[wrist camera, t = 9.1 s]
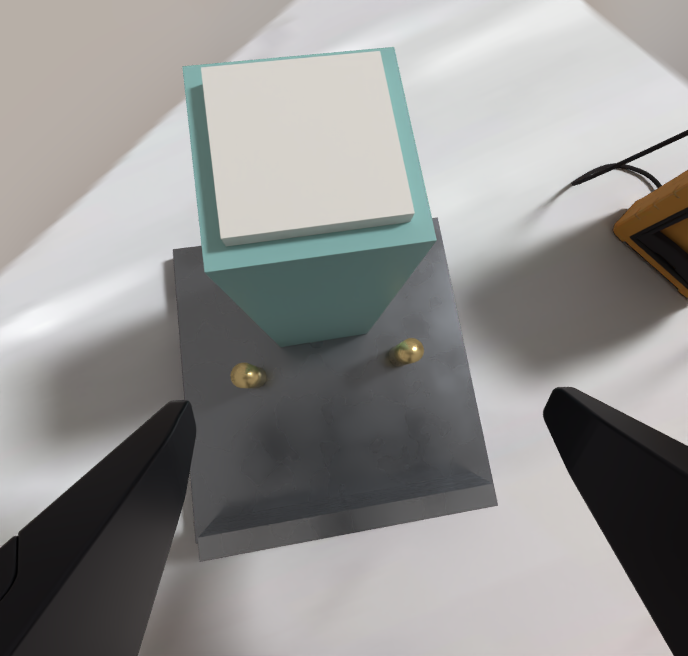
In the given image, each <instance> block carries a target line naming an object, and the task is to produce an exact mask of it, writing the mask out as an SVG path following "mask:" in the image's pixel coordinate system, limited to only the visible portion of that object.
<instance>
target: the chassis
mask: <svg viewBox="0 0 688 656" xmlns="http://www.w3.org/2000/svg"><path fill="white" fill-rule="evenodd" d="M432 221H433V225H434V230H435V234H436V239H437V241H436V242H435V243H434V245H433V246H432V247H431V249H430V250H429V251H428V253H427V254H426V255H425V257H424V258H423V259H422V261H421V262H420V263H419V265H418V266H417V267H416V269H415V270H414V271H413V273H412V274H411V275H410V277H409V278H408V279H407V281H406V282H405V283H404V285H403V286H402V287H401V289H400V290H399V291H398V293H397V294H396V295H395V297H394V298H393V300H392V301H391V302H390V304H389V305H388V306H387V308H386V309H385V310H384V312H383V313H382V314H381V316H380V317H379V318H378V320H377V321H376V322H375V324H374V325H373V326H372V328H371V329H370V330H369V332H368V333H367V334H361V335H355V336H348V337H342V338H336V339H329V340H323V341H317V342H310V343H304V344H298V345H291V346H285V347H280V346H279V345H278V344H277V343H276V342H275V341H274V340H273V339H272V338H271V337H270V336H269V335H268V334H267V333H266V332H265V331H264V330H262V329H261V328H260V327H259V326H258V325H257V324H256V323H255V322H254V321H253V320H252V319H251V318H250V317H249V316H248V315H247V314H246V313H245V312H244V311H243V310H242V309H241V308H240V307H239V306H238V305H237V304H236V303H235V302H234V301H233V300H232V299H231V298H230V297H229V296H228V295H227V294H226V293H225V292H224V291H223V290H222V289H221V288H220V287H219V286H218V285H217V284H216V283H215V282H214V281H213V280H212V279H211V278H210V277H209V276H208V275H207V274H206V273H205V272H204V263H203V254H202V246H197V247H188V248H180V249H173V258H174V271H175V284H176V296H177V309H178V322H179V335H180V347H181V360H182V373H183V386H184V398H185V400H188V401H189V402H190V403H191V405H192V409H193V414H194V418H195V422H196V439H195V445H194V450H193V456H192V461H191V467H190V475H191V488H192V501H193V513H194V526H195V539H196V543H198V548H199V560H200V562H201V561H206V560H212V559H217V558H222V557H228V556H233V555H238V554H243V553H249V552H254V551H259V550H265V549H270V548H275V547H281V546H286V545H291V544H297V543H302V542H307V541H312V540H318V539H323V538H328V537H334V536H339V535H344V534H350V533H355V532H360V531H366V530H371V529H376V528H381V527H387V526H392V525H397V524H403V523H408V522H413V521H419V520H424V519H429V518H435V517H440V516H445V515H450V514H456V513H461V512H466V511H472V510H477V509H482V508H488V507H493V506H498V503H497V498H496V494H495V489H494V484H493V479H492V474H491V470H490V465H489V460H488V455H487V451H486V446H485V441H484V436H483V432H482V427H481V422H480V417H479V413H478V408H477V403H476V398H475V394H474V389H473V384H472V379H471V374H470V370H469V365H468V360H467V355H466V351H465V346H464V341H463V336H462V332H461V327H460V322H459V317H458V313H457V308H456V303H455V298H454V294H453V289H452V284H451V279H450V275H449V270H448V265H447V260H446V256H445V251H444V246H443V241H442V236H441V232H440V227H439V222H438V218H432Z"/></svg>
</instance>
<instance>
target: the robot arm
mask: <svg viewBox="0 0 688 656" xmlns="http://www.w3.org/2000/svg"><path fill="white" fill-rule="evenodd" d="M543 417H544V421H545V423H546V425H547V427H548V429H549V432H550V434H551V436H552V438H553V440H554V442H555V445H556V447H557V449H558V451H559V453H560V456H561V458H562V460H563V462H564V464H565V466H566V468H567V470H568V473H569V475H570V476H571V478H572V480H573V482H574V484H575V485H576V487H577V489H578V491H579V492H580V494H581V496H582V498H583V499H584V501H585V503H586V504H587V506H588V508H589V510H590V511H591V513H592V515H593V517H594V518H595V520H596V522H597V524H598V525H599V527H600V529H601V530H602V532H603V534H604V536H605V537H606V539H607V541H608V543H609V544H610V546H611V548H612V550H613V551H614V553H615V555H616V556H617V558H618V560H619V562H620V563H621V565H622V567H623V569H624V570H625V572H626V574H627V576H628V577H629V579H630V581H631V582H632V584H633V586H634V588H635V589H636V591H637V593H638V595H639V596H640V598H641V600H642V602H643V603H644V605H645V607H646V608H647V610H648V612H649V614H650V615H651V617H652V619H653V621H654V622H655V624H656V626H657V628H658V629H659V631H660V633H661V634H662V636H663V638H664V640H665V641H666V643H667V645H668V647H669V648H670V650H671V652H672V654H673V655H674V656H688V446H687V445H685V444H683V443H681V442H679V441H677V440H675V439H673V438H671V437H669V436H667V435H665V434H663V433H661V432H659V431H657V430H655V429H653V428H652V427H650V426H648V425H646V424H644V423H642V422H640V421H638V420H636V419H634V418H632V417H630V416H628V415H626V414H624V413H622V412H620V411H618V410H616V409H614V408H613V407H611V406H609V405H607V404H605V403H603V402H601V401H599V400H597V399H595V398H593V397H591V396H589V395H587V394H585V393H583V392H581V391H579V390H577V389H575V388H573V387H557V388H555V389H554V390H553V391H552V393H551V395H550V397H549V399H548V401H547V404H546V406H545V408H544V410H543ZM195 439H196V422H195V418H194V414H193V409H192V405H191V403H190V402H189V401H188V400H177V401H170V402H168V403H167V404H166V405H165V406H164V407H162V408H161V409H160V410H159V411H158V412H157V413H156V414H154V415H153V416H152V417H151V418H150V419H149V420H147V421H146V422H145V423H144V424H143V425H142V426H141V427H139V428H138V429H137V430H136V431H135V432H134V433H132V434H131V435H130V436H129V437H128V438H127V439H126V440H124V441H123V442H122V443H121V444H120V445H119V446H117V447H116V448H115V449H114V450H113V451H112V452H111V453H109V454H108V455H107V456H106V457H105V458H104V459H102V460H101V461H100V462H99V463H98V464H97V465H96V466H94V467H93V468H92V469H91V470H90V471H89V472H87V473H86V474H85V475H84V476H83V477H82V478H81V479H79V480H78V481H77V482H76V483H75V484H74V485H72V486H71V487H70V488H69V489H68V490H67V491H65V492H64V493H63V494H62V495H61V496H60V497H59V498H57V499H56V500H55V501H54V502H53V503H52V504H50V505H49V506H48V507H47V508H46V509H45V510H44V511H42V512H41V513H40V514H39V515H38V516H37V517H35V518H34V519H33V520H32V521H31V522H30V523H29V524H27V525H26V526H25V527H24V528H23V529H22V530H20V531H19V533H18V536H14V537H12V538H11V539H10V540H9V541H8V542H6V543H5V544H4V545H3V546H2V547H1V548H0V656H138V653H139V650H140V646H141V643H142V640H143V636H144V633H145V630H146V626H147V623H148V620H149V617H150V613H151V610H152V607H153V603H154V600H155V597H156V593H157V590H158V587H159V583H160V580H161V577H162V573H163V570H164V567H165V563H166V560H167V557H168V553H169V550H170V547H171V543H172V540H173V537H174V534H175V530H176V527H177V524H178V520H179V517H180V514H181V510H182V507H183V503H184V499H185V494H186V489H187V484H188V478H189V472H190V467H191V461H192V456H193V450H194V445H195Z"/></svg>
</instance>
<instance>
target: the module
mask: <svg viewBox="0 0 688 656" xmlns="http://www.w3.org/2000/svg"><path fill="white" fill-rule="evenodd" d="M183 76H184V85H185V95H186V104H187V113H188V123H189V132H190V142H191V151H192V160H193V170H194V179H195V188H196V198H197V207H198V216H199V226H200V235H201V244H202V254H203V263H204V272H205V273H206V274H207V275H208V276H209V277H210V278H211V279H212V280H213V281H214V282H215V283H216V284H217V285H218V286H219V287H220V288H221V289H222V290H223V291H224V292H225V293H226V294H227V295H228V296H229V297H230V298H231V299H232V300H233V301H234V302H235V303H236V304H237V305H238V306H239V307H240V308H241V309H242V310H243V311H244V312H245V313H246V314H247V315H248V316H249V317H250V318H251V319H252V320H253V321H254V322H255V323H256V324H257V325H258V326H259V327H260V328H261V329H262V330H264V331H265V332H266V333H267V334H268V335H269V336H270V337H271V338H272V339H273V340H274V341H275V342H276V343H277V344H278V345H279V346H280V347H285V346H291V345H298V344H304V343H310V342H317V341H323V340H329V339H336V338H342V337H348V336H355V335H361V334H367V333H368V332H369V330H370V329H371V328H372V326H373V325H374V324H375V322H376V321H377V320H378V318H379V317H380V316H381V314H382V313H383V312H384V310H385V309H386V308H387V306H388V305H389V304H390V302H391V301H392V300H393V298H394V297H395V295H396V294H397V293H398V291H399V290H400V289H401V287H402V286H403V285H404V283H405V282H406V281H407V279H408V278H409V277H410V275H411V274H412V273H413V271H414V270H415V269H416V267H417V266H418V265H419V263H420V262H421V261H422V259H423V258H424V257H425V255H426V254H427V253H428V251H429V250H430V249H431V247H432V246H433V245H434V243H435V242H436V241H437V239H436V234H435V230H434V225H433V221H432V216H431V212H430V207H429V203H428V198H427V194H426V189H425V185H424V180H423V176H422V171H421V167H420V162H419V158H418V153H417V149H416V144H415V139H414V135H413V130H412V126H411V121H410V117H409V112H408V108H407V103H406V99H405V94H404V90H403V85H402V81H401V76H400V72H399V67H398V63H397V58H396V54H395V49H394V47H388V48H377V49H366V50H356V51H345V52H334V53H323V54H312V55H301V56H290V57H279V58H269V59H258V60H247V61H236V62H225V63H215V64H203V65H193V66H183Z"/></svg>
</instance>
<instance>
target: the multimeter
mask: <svg viewBox="0 0 688 656" xmlns="http://www.w3.org/2000/svg"><path fill="white" fill-rule="evenodd" d="M685 136H688V130H686V131H684V132H682V133H680V134H678V135H676V136H674V137H672V138H669V139H667V140H665V141H663V142H661V143H659V144H657V145H655V146H653V147H650V148H648V149H646V150H644V151H642V152H640V153H638V154H635V155H633V156H631V157H629V158H627V159H625V160H623V161H620V162H618V163H613V164H607V165H603V166H600V167H598V168H595V169H593V170H591V171H589V172H587V173H586V174H584V175H582V176H581V177H579V178H577V179H576V180H575V181H574V182H572V183H571V184H572V185H573V186H575V185H578V184H581V183H583V182H586V181H588V180H591V179H593V178H595V177H597V176H600V175H602V174H604V173H607V172H609V171H611V170H613V169H615V168H624V169H629V170H632V171H635V172H638V173H640V174H642V175H644V176H646V177H647V178H649V179H650V180H651V181H652V182H653V183H654V184H655V185H656V186H657V188H658V189H656V190H655V191H653V192H651V193H650V194H648V195H647V196H645V197H643V198H642V199H639V200H637V201H636V202H635V203H634V204H633V205H632V206H631V207H630V208H629V209H628V210H627V211H626V213H625V214H624V215H623V216H622V217H621V218H620V219H619V220H618V221H617V222H616V223H615V225H614V229H613V231H614V234H615V235H616V236H617V237H618V238H619V239H620V240H621V241H622V242H624V241H625V242H626V243H628V244H629V245H630V246H631V247H632V248H633V249H634V250H635V251H637V252H638V253H639V254H640V255H641V256H642V257H643V258H644V259H646V260H647V261H648V262H649V263H650V264H651V265H652V266H653V267H655V268H656V269H657V270H658V271H659V272H660V273H661V274H662V275H664V276H665V277H666V278H667V279H668V280H669V281H670V282H672V283H673V284H674V285H675V286H676V287H677V288H678V289H679V290H678V292H680V293H681V294H682V295H684V296H685V297H686V298H688V170H687V171H685V172H683V173H682V174H680V175H679V176H678V177H675V178H674V179H672V180H671V181H669V182H667V183H666V184H664V185H663V186H662V185H661V184H660V182H659V181H658V180H657V179H656V178H655V177H654V176H652V175H651V174H649V173H648V172H646V171H644V170H642V169H639V168H636V167H633V166H630V165H626V164H627V163H629V162H631V161H633V160H635V159H638V158H640V157H642V156H644V155H646V154H648V153H651V152H653V151H655V150H657V149H659V148H662V147H664V146H666V145H668V144H670V143H672V142H675V141H677V140H679V139H681V138H683V137H685ZM600 170H601V171H600ZM598 171H599V172H598ZM595 172H596V173H595ZM593 173H594V174H593ZM591 174H592V175H591ZM589 175H590V176H589Z"/></svg>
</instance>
